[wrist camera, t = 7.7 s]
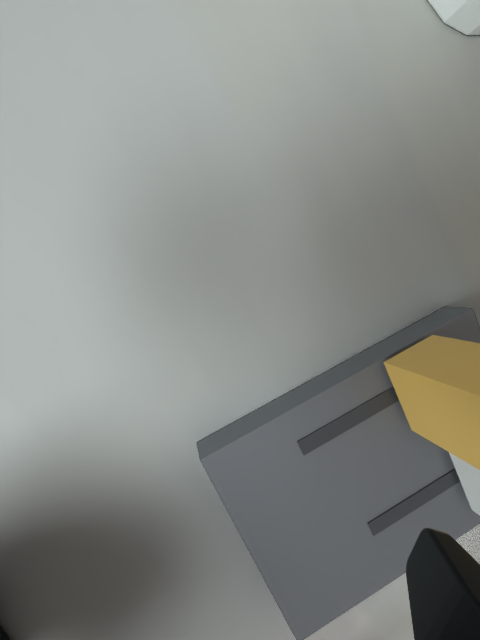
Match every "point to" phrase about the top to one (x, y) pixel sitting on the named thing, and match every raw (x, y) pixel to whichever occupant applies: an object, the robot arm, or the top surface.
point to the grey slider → (468, 481)
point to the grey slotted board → (338, 481)
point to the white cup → (459, 14)
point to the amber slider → (441, 393)
